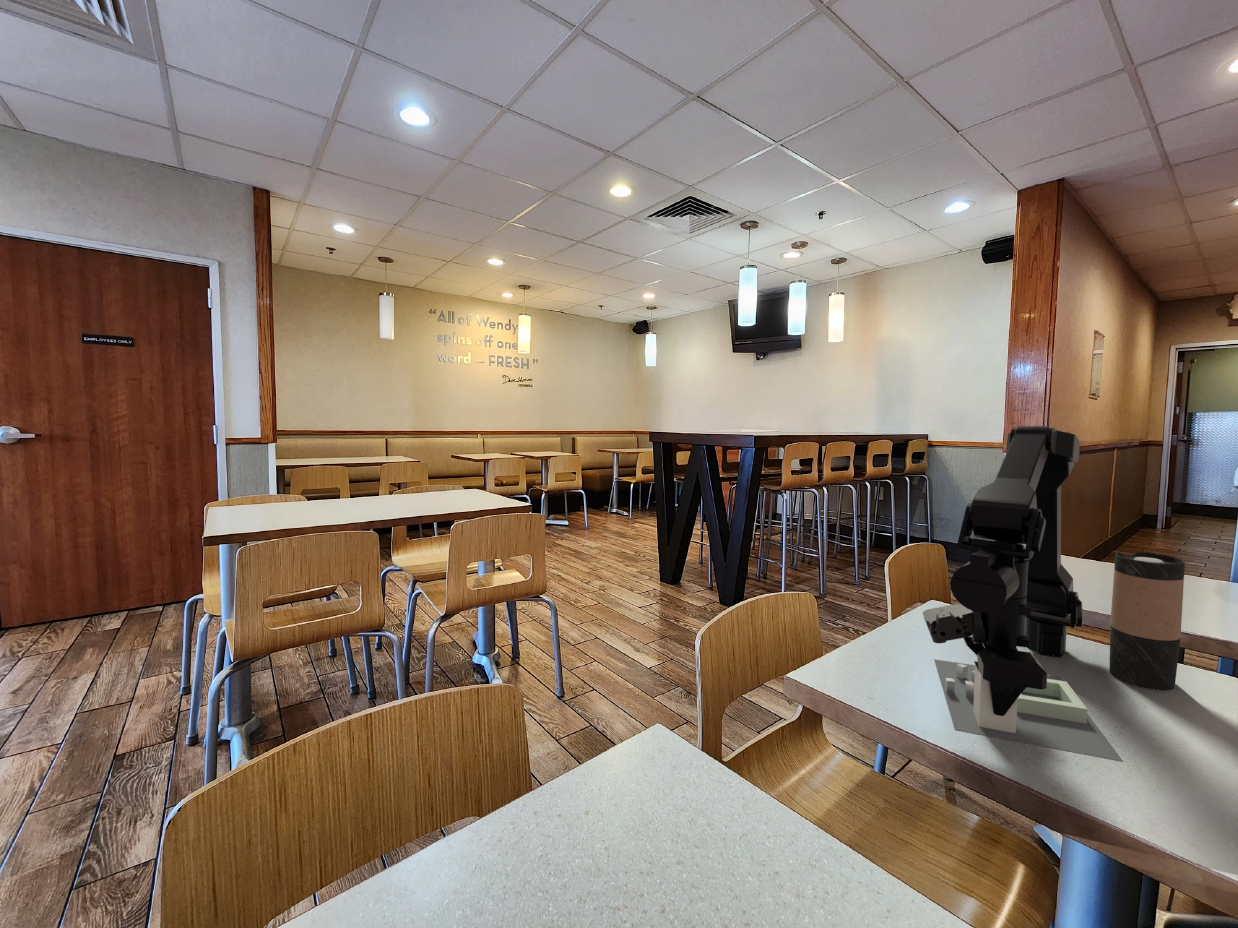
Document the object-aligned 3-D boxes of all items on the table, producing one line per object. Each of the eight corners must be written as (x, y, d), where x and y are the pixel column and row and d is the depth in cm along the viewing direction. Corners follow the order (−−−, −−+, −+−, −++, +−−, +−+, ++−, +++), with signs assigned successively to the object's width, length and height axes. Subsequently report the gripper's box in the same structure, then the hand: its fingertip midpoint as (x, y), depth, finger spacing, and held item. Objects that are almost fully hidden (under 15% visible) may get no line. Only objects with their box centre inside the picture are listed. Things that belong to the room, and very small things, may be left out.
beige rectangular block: (973, 711, 74) (975, 662, 74) (1008, 717, 73) (1010, 667, 72) (979, 726, 71) (981, 675, 70) (1015, 733, 69) (1018, 681, 69)
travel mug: (1174, 703, 77) (1184, 567, 75) (1103, 684, 83) (1111, 557, 81) (1178, 685, 82) (1187, 557, 80) (1110, 668, 88) (1118, 548, 86)
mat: (933, 664, 90) (934, 659, 90) (1060, 683, 83) (1060, 677, 83) (954, 736, 70) (954, 729, 70) (1122, 769, 63) (1123, 761, 63)
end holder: (999, 684, 81) (1000, 671, 81) (1065, 694, 78) (1066, 681, 78) (1013, 711, 74) (1013, 697, 74) (1086, 723, 71) (1087, 709, 71)
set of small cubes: (937, 665, 88) (938, 653, 88) (1005, 675, 84) (1006, 663, 84) (946, 693, 79) (946, 680, 79) (1022, 706, 75) (1023, 692, 75)
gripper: (921, 567, 82) (918, 665, 83) (937, 607, 65) (933, 730, 66) (1009, 574, 77) (1005, 678, 79) (1051, 620, 60) (1044, 751, 62)
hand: (994, 705), depth 72 cm, fingers open, 4 cm apart
